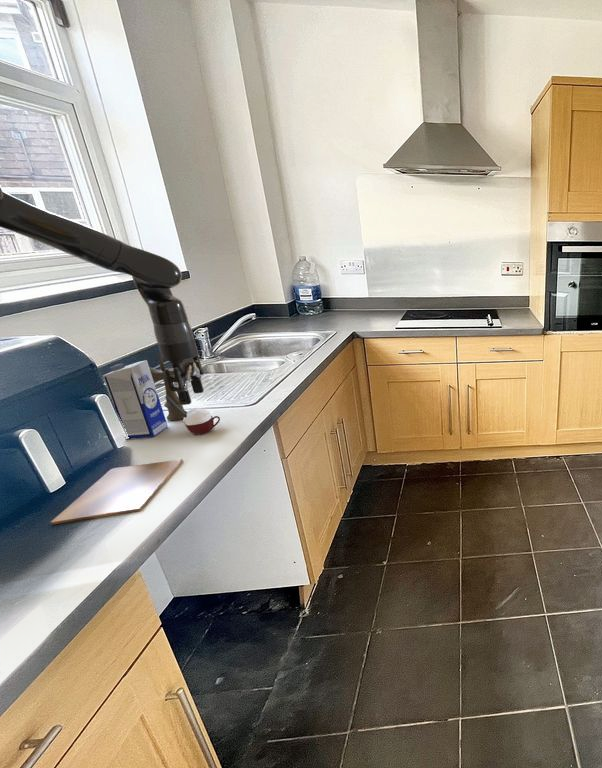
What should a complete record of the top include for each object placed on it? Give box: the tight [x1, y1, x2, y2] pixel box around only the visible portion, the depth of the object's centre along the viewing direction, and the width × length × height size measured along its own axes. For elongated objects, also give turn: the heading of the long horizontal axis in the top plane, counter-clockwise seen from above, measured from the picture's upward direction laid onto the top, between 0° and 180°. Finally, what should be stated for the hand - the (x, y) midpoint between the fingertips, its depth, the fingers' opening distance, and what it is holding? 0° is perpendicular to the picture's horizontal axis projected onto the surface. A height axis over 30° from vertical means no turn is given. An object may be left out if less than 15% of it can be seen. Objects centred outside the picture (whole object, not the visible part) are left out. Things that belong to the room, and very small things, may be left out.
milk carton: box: [102, 359, 169, 440], centre depth 111 cm, size 7×7×20 cm
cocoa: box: [164, 394, 221, 435], centre depth 113 cm, size 10×6×12 cm, turn 103°
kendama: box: [149, 352, 188, 421], centre depth 120 cm, size 6×10×20 cm, turn 107°
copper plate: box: [50, 459, 184, 526], centre depth 89 cm, size 14×20×1 cm
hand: (193, 398), depth 111 cm, fingers open, 8 cm apart
